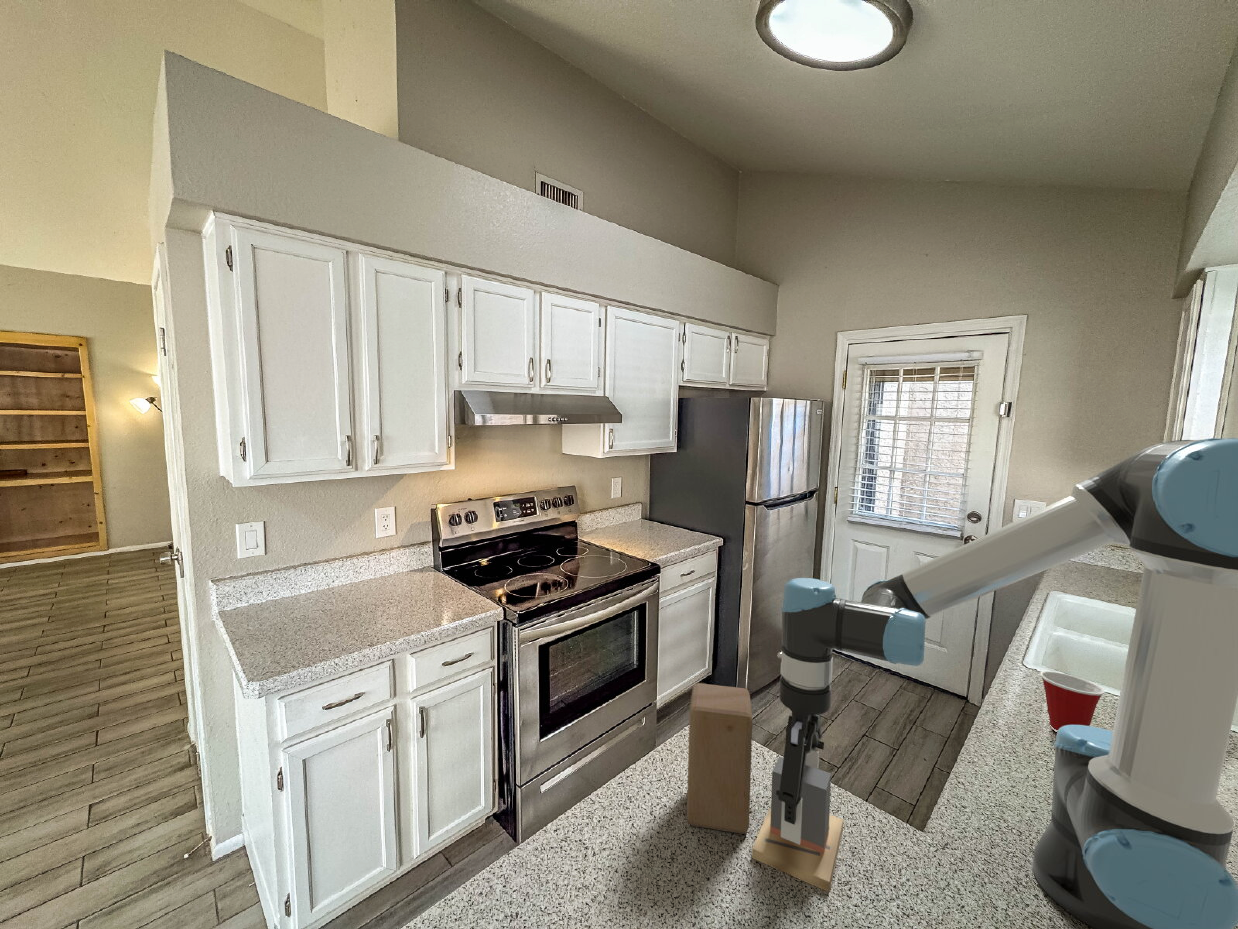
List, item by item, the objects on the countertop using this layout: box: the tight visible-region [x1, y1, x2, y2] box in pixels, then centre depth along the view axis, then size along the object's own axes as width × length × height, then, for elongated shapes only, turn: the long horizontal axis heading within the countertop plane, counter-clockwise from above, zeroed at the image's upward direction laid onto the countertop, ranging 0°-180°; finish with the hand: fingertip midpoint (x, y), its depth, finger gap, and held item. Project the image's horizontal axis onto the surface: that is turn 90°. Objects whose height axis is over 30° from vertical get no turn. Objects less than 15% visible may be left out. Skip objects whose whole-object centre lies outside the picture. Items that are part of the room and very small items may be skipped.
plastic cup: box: [1039, 671, 1106, 730], centre depth 113 cm, size 11×11×12 cm
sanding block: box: [770, 756, 832, 854], centre depth 80 cm, size 8×4×10 cm, turn 59°
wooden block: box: [686, 682, 753, 835], centre depth 87 cm, size 10×10×20 cm
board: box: [751, 805, 844, 893], centre depth 81 cm, size 11×14×2 cm
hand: (800, 811), depth 80 cm, fingers open, 13 cm apart
